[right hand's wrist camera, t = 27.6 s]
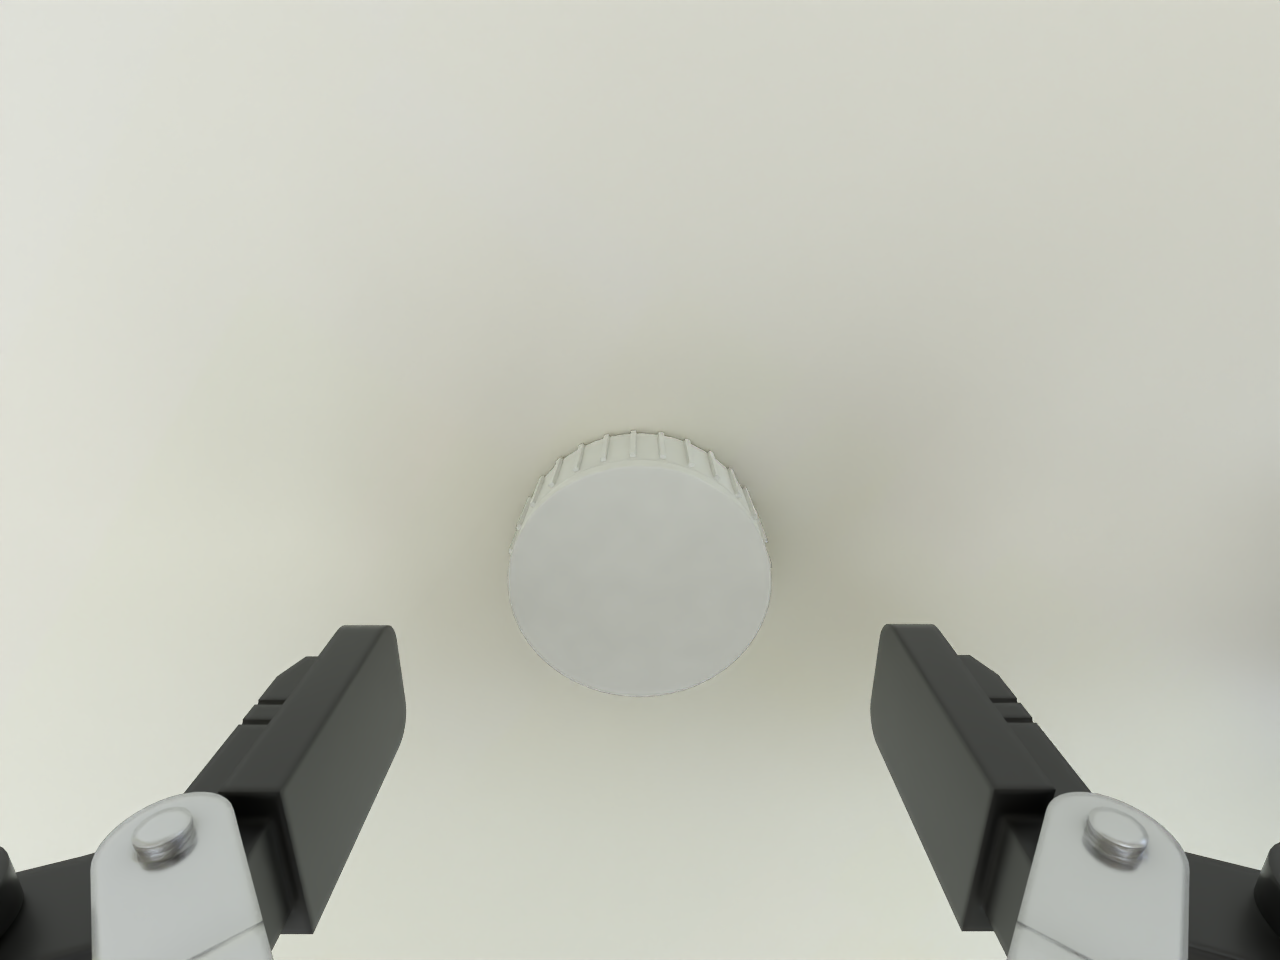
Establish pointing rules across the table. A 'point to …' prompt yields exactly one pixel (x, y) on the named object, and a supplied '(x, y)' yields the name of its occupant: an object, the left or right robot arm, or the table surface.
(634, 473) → the lid
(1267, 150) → the table surface
